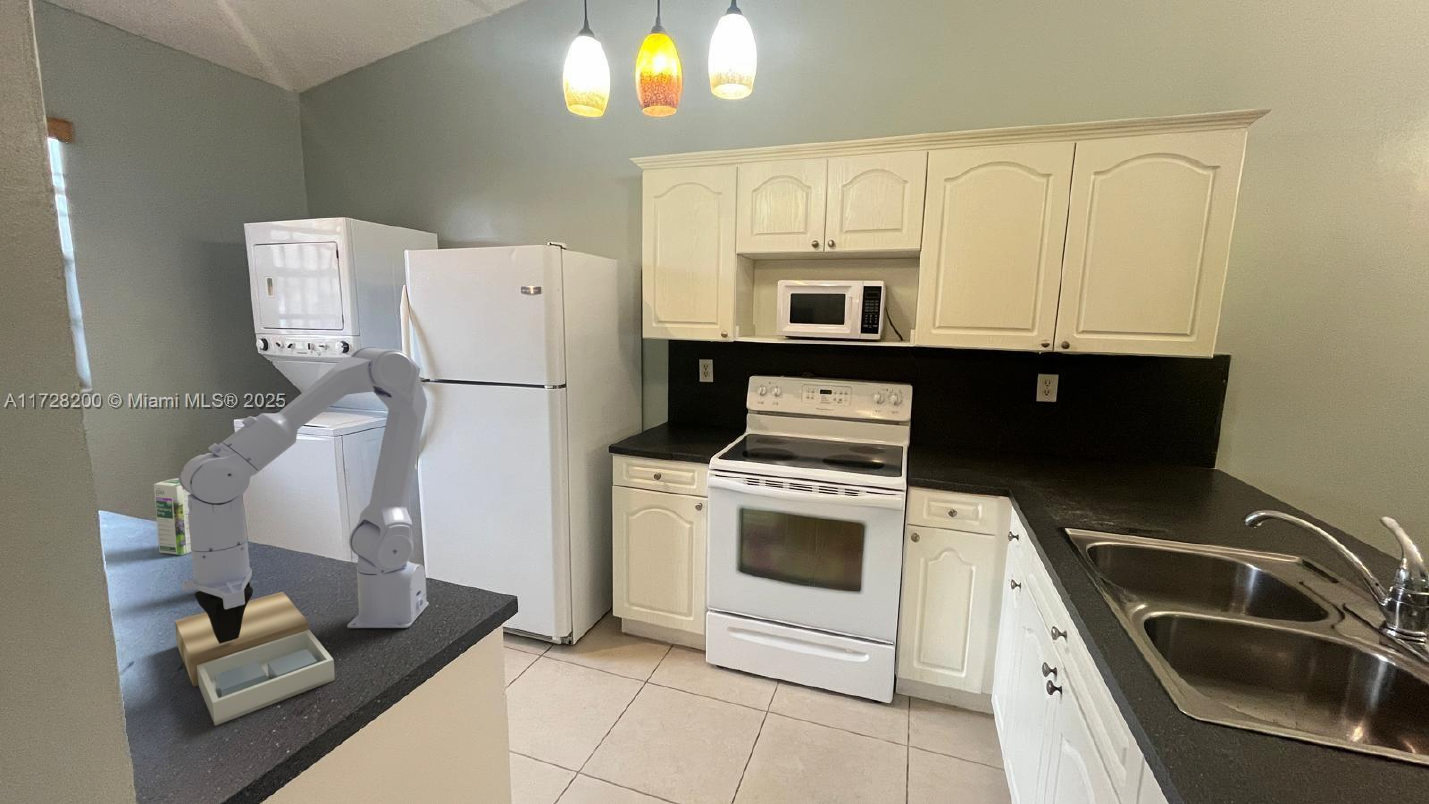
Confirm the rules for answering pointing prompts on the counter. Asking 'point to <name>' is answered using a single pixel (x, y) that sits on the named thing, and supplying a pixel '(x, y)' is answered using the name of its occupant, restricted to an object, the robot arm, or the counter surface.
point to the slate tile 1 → (239, 678)
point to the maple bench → (258, 627)
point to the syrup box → (172, 517)
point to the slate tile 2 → (290, 663)
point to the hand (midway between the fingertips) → (228, 639)
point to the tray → (272, 688)
